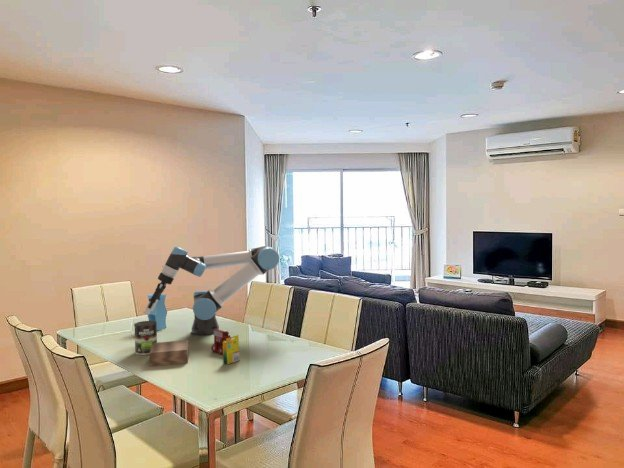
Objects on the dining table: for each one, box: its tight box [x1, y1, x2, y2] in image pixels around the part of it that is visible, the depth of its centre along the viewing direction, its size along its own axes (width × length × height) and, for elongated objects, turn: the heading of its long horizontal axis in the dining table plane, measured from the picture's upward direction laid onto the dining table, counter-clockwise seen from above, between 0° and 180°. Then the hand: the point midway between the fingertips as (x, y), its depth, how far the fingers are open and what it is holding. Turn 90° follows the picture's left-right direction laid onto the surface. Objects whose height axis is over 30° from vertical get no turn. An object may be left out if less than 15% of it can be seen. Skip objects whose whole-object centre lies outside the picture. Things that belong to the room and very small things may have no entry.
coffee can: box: [133, 320, 158, 356], centre depth 224 cm, size 10×10×14 cm
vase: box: [147, 293, 168, 332], centre depth 269 cm, size 8×8×20 cm
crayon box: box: [222, 334, 240, 365], centre depth 207 cm, size 7×3×12 cm, turn 141°
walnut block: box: [149, 339, 190, 367], centre depth 212 cm, size 16×16×6 cm
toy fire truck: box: [210, 329, 231, 356], centre depth 221 cm, size 7×12×10 cm, turn 50°
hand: (148, 312), depth 239 cm, fingers open, 13 cm apart
